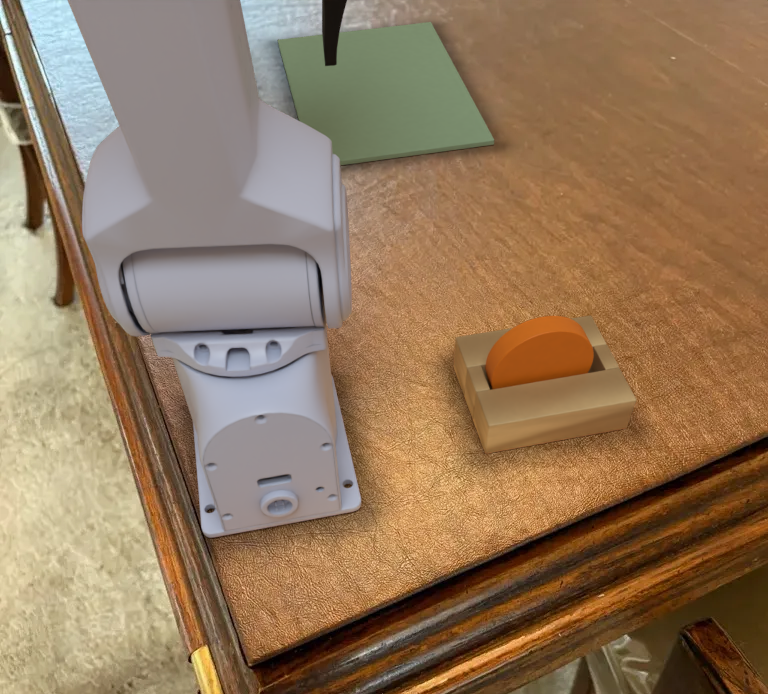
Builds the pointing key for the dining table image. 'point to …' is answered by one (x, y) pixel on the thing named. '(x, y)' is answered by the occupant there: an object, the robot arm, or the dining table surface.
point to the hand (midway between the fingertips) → (266, 62)
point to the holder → (542, 396)
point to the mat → (383, 94)
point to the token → (539, 352)
